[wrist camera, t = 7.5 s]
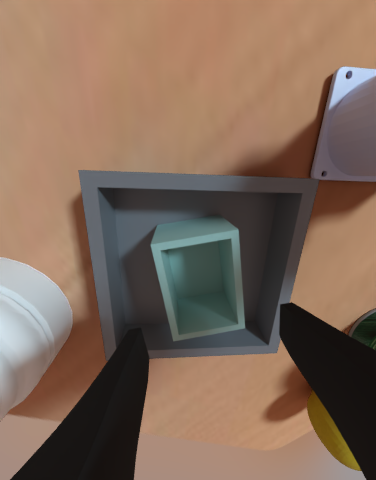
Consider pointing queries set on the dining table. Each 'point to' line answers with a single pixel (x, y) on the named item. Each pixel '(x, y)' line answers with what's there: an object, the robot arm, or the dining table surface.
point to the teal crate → (200, 276)
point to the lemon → (329, 432)
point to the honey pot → (28, 329)
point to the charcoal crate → (186, 208)
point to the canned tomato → (365, 329)
